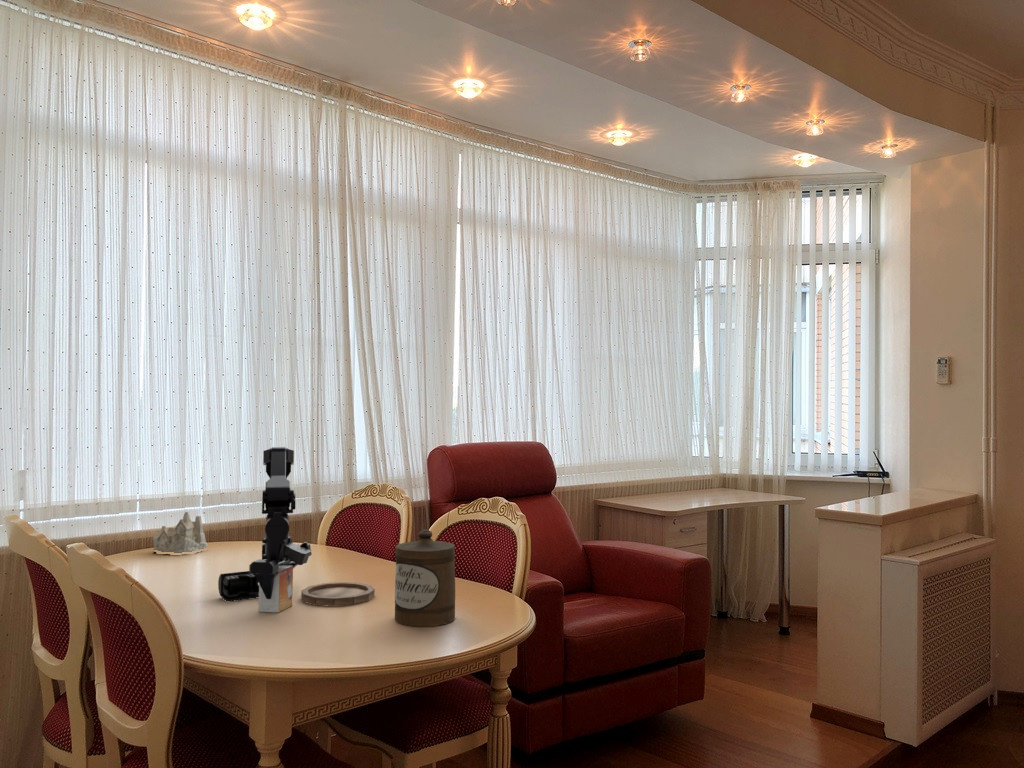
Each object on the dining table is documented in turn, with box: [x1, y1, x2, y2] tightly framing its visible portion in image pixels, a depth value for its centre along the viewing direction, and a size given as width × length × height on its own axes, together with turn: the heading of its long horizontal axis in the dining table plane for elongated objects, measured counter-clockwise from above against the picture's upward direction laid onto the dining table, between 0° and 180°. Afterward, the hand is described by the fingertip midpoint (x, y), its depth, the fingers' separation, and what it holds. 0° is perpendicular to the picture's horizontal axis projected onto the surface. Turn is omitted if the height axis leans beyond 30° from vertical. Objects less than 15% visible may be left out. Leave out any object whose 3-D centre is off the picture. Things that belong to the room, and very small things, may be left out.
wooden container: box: [394, 528, 456, 628], centre depth 201 cm, size 15×15×22 cm
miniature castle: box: [152, 511, 209, 553], centre depth 288 cm, size 16×16×15 cm
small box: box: [258, 565, 294, 613], centre depth 209 cm, size 8×6×10 cm
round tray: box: [300, 581, 376, 607], centre depth 222 cm, size 19×19×2 cm
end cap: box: [217, 570, 259, 602], centre depth 221 cm, size 10×7×7 cm
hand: (276, 595), depth 209 cm, fingers closed on small box, 8 cm apart
